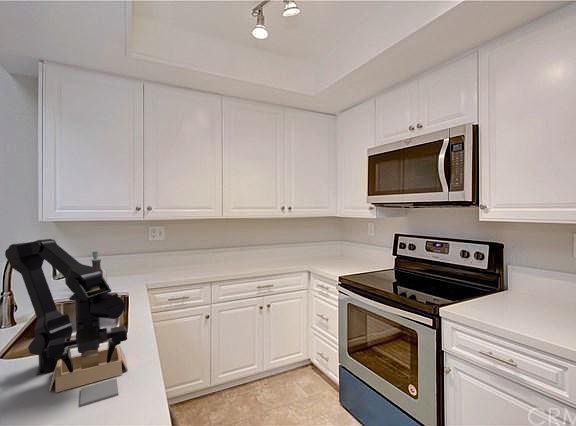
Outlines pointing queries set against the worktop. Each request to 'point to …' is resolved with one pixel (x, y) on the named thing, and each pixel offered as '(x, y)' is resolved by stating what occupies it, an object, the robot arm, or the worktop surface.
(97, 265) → the sauce bottle
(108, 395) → the mat
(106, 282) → the soap bottle
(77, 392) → the worktop surface
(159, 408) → the worktop surface
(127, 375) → the worktop surface
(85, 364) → the block
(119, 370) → the carton
